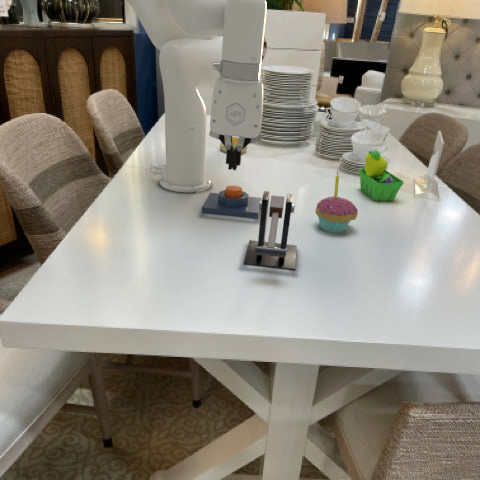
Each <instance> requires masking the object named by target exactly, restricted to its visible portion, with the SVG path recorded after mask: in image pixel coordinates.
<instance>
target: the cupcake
mask: <svg viewBox="0 0 480 480" xmlns="http://www.w3.org/2000/svg"><path fill="white" fill-rule="evenodd" d="M339 182H340V175H339V171H336V175H335V181H334V191H333V192H334V193H333V196H327V197H325V198H323V199H322V198H321V200H319V201H318V202H317V204H316V207H315V215H317V218H318V221H319V227H320V228H321V230H323V231H326V232H331V233H342V232H344V231H345V230H346V228H347V227H348V225H349V224H350V222H351V221H354V220H356V219H357V218H358V214H359V211H358V207H357V206H356V205H355V204H354V203H353V202H352V201H351V200H349V199H348V198H344V197H340V196H338V193H339Z"/></svg>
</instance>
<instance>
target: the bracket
mask: <svg viewBox="0 0 480 480" xmlns="http://www.w3.org/2000/svg"><path fill="white" fill-rule="evenodd" d="M270 194H271V192H270V191H268V190H267V191H266V190H265V191H264V190H263V193H262V197H261V198H262V201H260V202H259V209H260V215H259V216H260V217H259V227H258V237H257V240H252V239H249V241H248V245H247V249H246V253H245V256H244V259H243V265H245V266H253V267H259V268H260V267H261V268H269V269H278V270H286V271H287V270H288V271H296V265H297V247H298V246H297V245H296V244H288V237H289V230H290V222H291V214H293V213H295V208H296V207H295V206H296V205H295V204H294V203H293V198H294V194H293V193H286V199H285V200H286V201H285V207H284V208H285V209H284V216H283V223H282V224H283V225H282V230H281V239H280V243H279V242H275V248H284V249H287V251H286V258H282V257H274V256H265V255H256V254H255V246H256V245H257V246H266V247H268V241H266V235H267V234H266V232H267V222H268V215H269V206H270V205H269V203H270Z"/></svg>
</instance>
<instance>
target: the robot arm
mask: <svg viewBox="0 0 480 480" xmlns="http://www.w3.org/2000/svg"><path fill="white" fill-rule="evenodd" d="M126 1H127V3H128V4H129V5H130V6H131V8H132V10H133V11H134V13H135V14H136V16H137V18H138V20H139V22H140V24H141V26H142V27H143V30H144V31H145V33H146V34H147V37H148V38H149V40H150V41H151V43H152V45H153V46H154V47H155V48H156V49H157V50H159V56H158V60H159V61H158V63H159V70H160V76H161V82H162V89H163V99H164V129H165V130H164V132H165V133H164V135H165V164H162V165H158V164H149V170H148V171H149V173H151V175H152V176H161V177H160V178H159V184H160V186H161V187H162V188H163V189H165V190H168V191H171V192H176V193H187V194H188V193H196V192H197V191H198V190H204V191H206V190H209V189H210V188H211V183H212V182H211V180H210V179H209V178H208V177H206V175H205V174H206V144H207V143H206V142H207V141H206V140H207V137H206V136H207V109H206V105H205V103H204V100H203V99H202V97H201V95H200V93H199V90H198V89H203V88H205V89H207V88H209V89H210V88H213V91H212V99H211V107H210V119H209V129H210V130H209V133H208V136H210V137H211V138H214V139H216V140H219V141H220V143H221V142H222V143H223V145H224V146H225V148H226V149H227V153H225V154H226V155H225V165H228V166H227V170H229V171H230V170H233V171H237V168H238V167H239V166H240V167H241V163H242V154H243V153H242V149H244V148H245V147H246V146H247V147H248V146H249V145H250V144H257V143H261V141H262V132H261V130H262V126H263V116H264V115H263V112H264V84H263V81H262V80H261V79H260V77H261V69H262V61H263V60H262V59H263V49H264V40H265V31H266V30H265V29H266V20H267V8H268V7H267V1H266V0H126ZM232 137H237V138H239V140H238V144H237V145H236V147H235V148H234V145H233V140H232Z"/></svg>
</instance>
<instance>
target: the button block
mask: <svg viewBox="0 0 480 480" xmlns="http://www.w3.org/2000/svg"><path fill="white" fill-rule="evenodd" d="M225 192H226V189H224V190H221V191H219V192H209V194H208V196H207V197H206V200H205V201H204V203H203V205H202V207H201V214H208V215H214V216H215V215H216V216H224V217H234V218H243V219H252V220H258V219H259V216H260V213H261V209H259V202H260V201H262V198H263V197H256V196H250V194H249V193H247V192H246V191H244V190H242V197H238V198H233V197H228V196H225Z"/></svg>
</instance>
